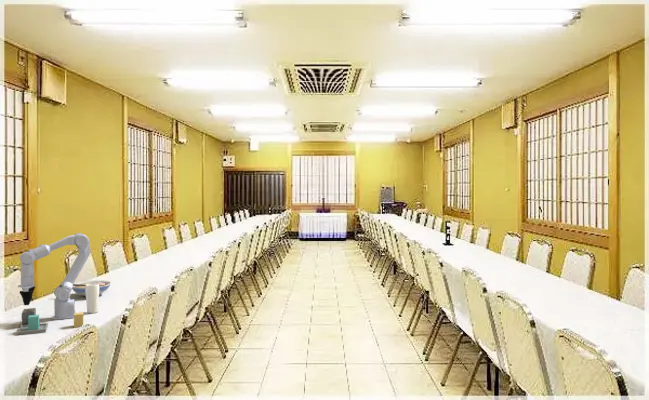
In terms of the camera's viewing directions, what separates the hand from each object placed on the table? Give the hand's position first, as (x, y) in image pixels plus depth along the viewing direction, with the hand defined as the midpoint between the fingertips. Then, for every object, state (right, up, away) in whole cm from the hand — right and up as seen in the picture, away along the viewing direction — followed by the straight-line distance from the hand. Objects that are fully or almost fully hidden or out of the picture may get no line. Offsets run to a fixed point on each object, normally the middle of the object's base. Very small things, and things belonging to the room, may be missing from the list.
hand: (27, 303), depth 245 cm
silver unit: (+3, -10, -4) cm, 11 cm away
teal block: (+11, -9, -13) cm, 20 cm away
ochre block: (+28, -10, -5) cm, 30 cm away
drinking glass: (+23, -9, +20) cm, 32 cm away
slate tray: (+11, -10, -13) cm, 20 cm away
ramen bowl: (+3, -8, +59) cm, 60 cm away
